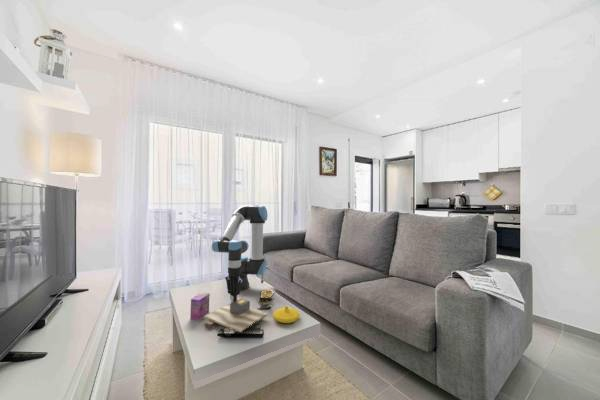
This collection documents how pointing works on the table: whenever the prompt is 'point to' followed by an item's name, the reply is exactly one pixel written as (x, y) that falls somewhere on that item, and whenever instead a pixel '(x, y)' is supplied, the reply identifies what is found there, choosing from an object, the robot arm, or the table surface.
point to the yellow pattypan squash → (286, 315)
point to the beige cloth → (233, 318)
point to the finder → (239, 306)
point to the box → (199, 306)
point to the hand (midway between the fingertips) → (233, 305)
